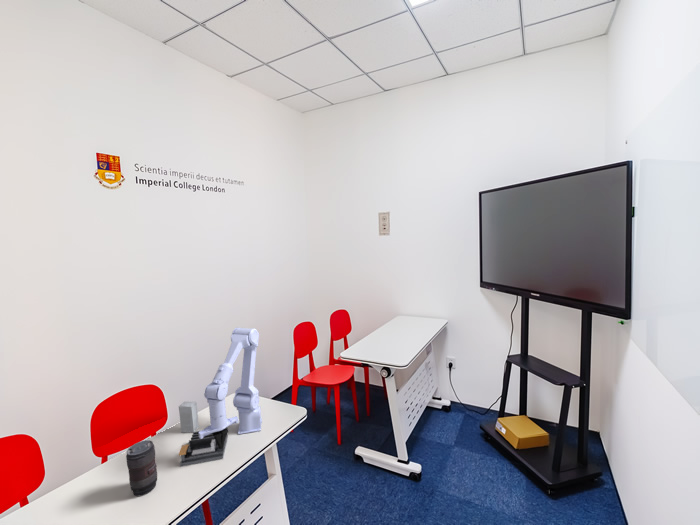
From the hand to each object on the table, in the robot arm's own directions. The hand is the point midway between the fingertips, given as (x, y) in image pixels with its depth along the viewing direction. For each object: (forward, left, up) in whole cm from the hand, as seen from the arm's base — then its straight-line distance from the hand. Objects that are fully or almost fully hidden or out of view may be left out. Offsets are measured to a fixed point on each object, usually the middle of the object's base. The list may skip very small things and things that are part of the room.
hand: (220, 447), depth 128 cm
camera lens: (+23, +11, -3) cm, 26 cm away
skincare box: (+16, -21, -3) cm, 27 cm away
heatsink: (+7, -4, -3) cm, 8 cm away
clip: (+6, 0, -1) cm, 6 cm away
